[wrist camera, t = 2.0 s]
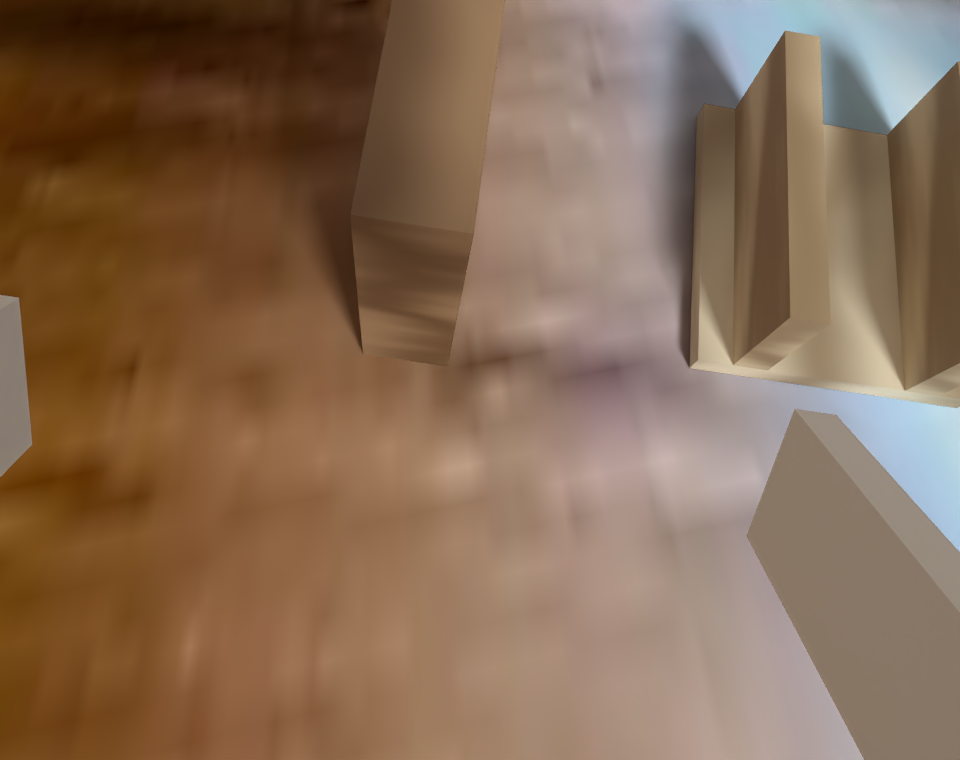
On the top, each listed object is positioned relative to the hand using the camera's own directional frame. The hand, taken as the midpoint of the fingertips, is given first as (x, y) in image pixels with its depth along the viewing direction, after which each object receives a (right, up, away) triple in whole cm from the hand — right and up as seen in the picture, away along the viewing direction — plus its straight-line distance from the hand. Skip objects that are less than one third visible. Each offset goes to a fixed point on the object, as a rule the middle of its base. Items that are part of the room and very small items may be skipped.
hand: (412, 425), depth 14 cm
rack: (+17, +6, +23) cm, 29 cm away
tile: (-1, +6, +20) cm, 21 cm away
